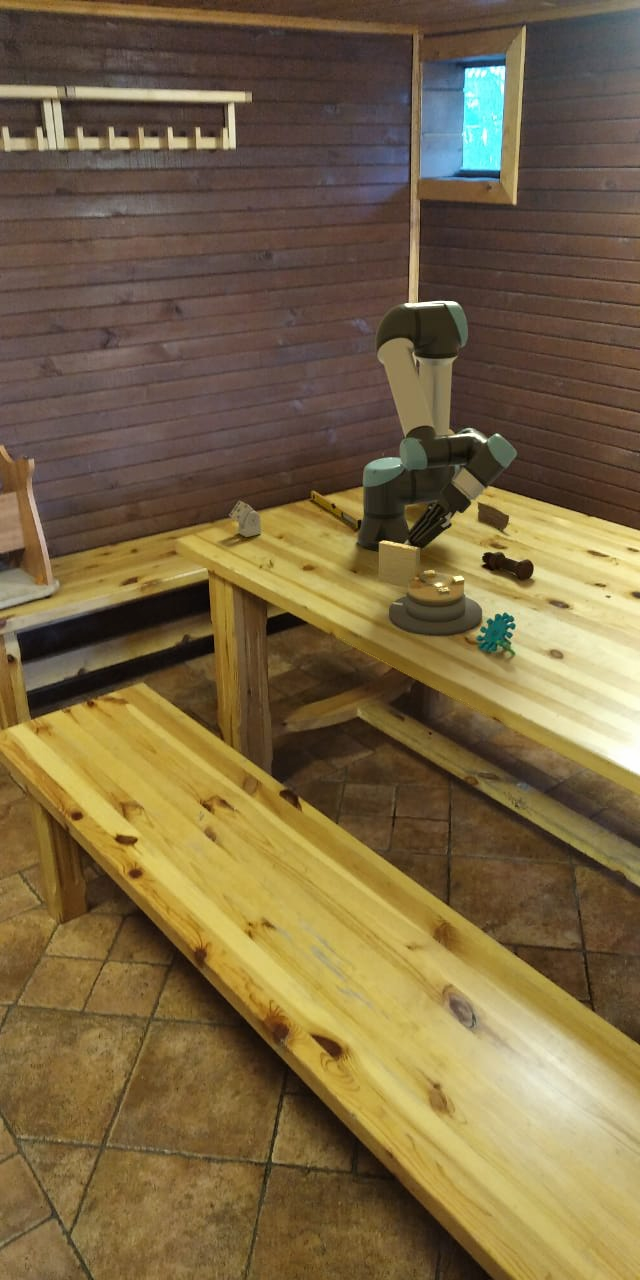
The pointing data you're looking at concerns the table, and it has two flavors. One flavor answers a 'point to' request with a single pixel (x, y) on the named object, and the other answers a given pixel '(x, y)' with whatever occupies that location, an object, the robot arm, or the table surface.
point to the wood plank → (493, 516)
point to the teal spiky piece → (497, 633)
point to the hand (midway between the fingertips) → (393, 563)
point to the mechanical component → (246, 519)
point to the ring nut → (417, 576)
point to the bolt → (509, 565)
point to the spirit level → (336, 509)
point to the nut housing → (435, 617)
